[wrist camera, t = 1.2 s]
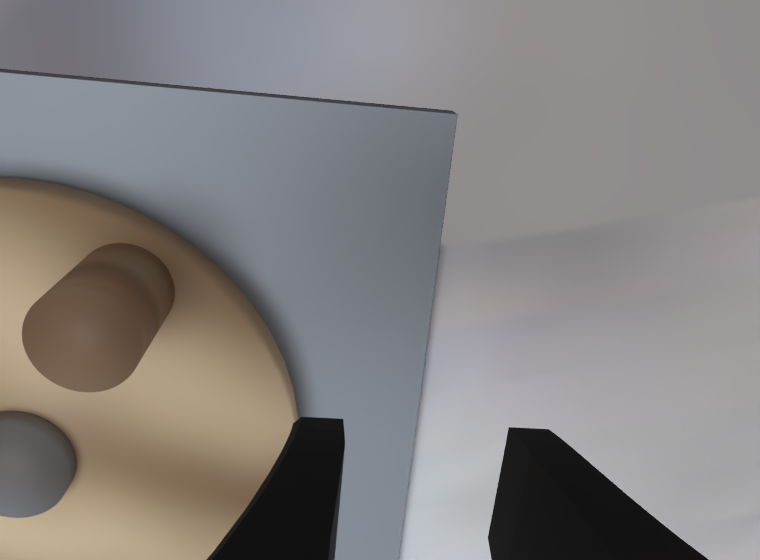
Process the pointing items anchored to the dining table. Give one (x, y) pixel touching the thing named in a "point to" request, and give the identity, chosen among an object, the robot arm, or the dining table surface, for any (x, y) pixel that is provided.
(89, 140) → the grey flat square board
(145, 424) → the dial
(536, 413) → the dining table surface
